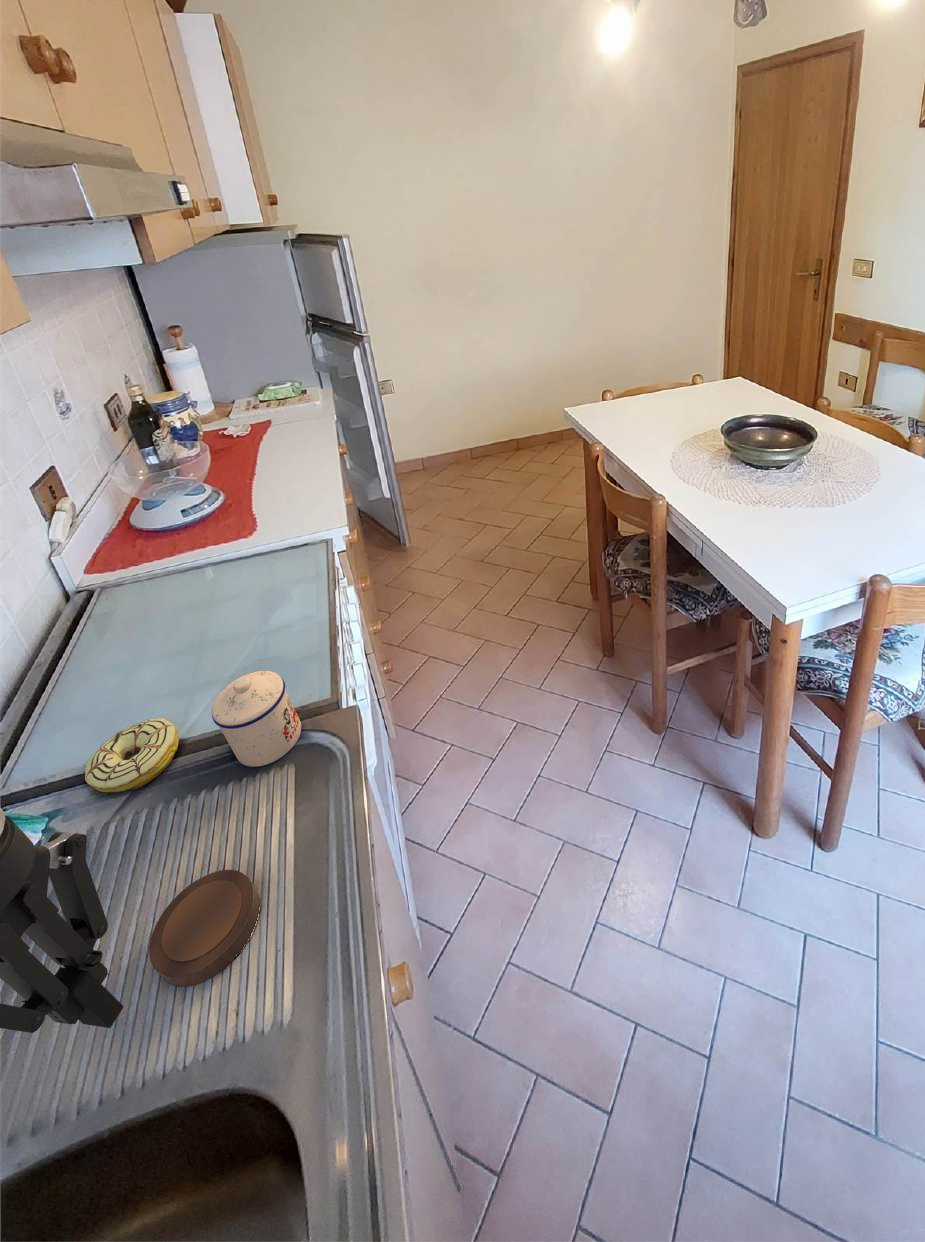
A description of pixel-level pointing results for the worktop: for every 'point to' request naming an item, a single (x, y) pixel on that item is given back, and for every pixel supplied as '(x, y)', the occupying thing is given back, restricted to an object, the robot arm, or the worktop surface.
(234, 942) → the plate
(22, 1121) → the worktop surface
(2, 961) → the robot arm
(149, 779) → the decorated donut
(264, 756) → the teacup with lid
